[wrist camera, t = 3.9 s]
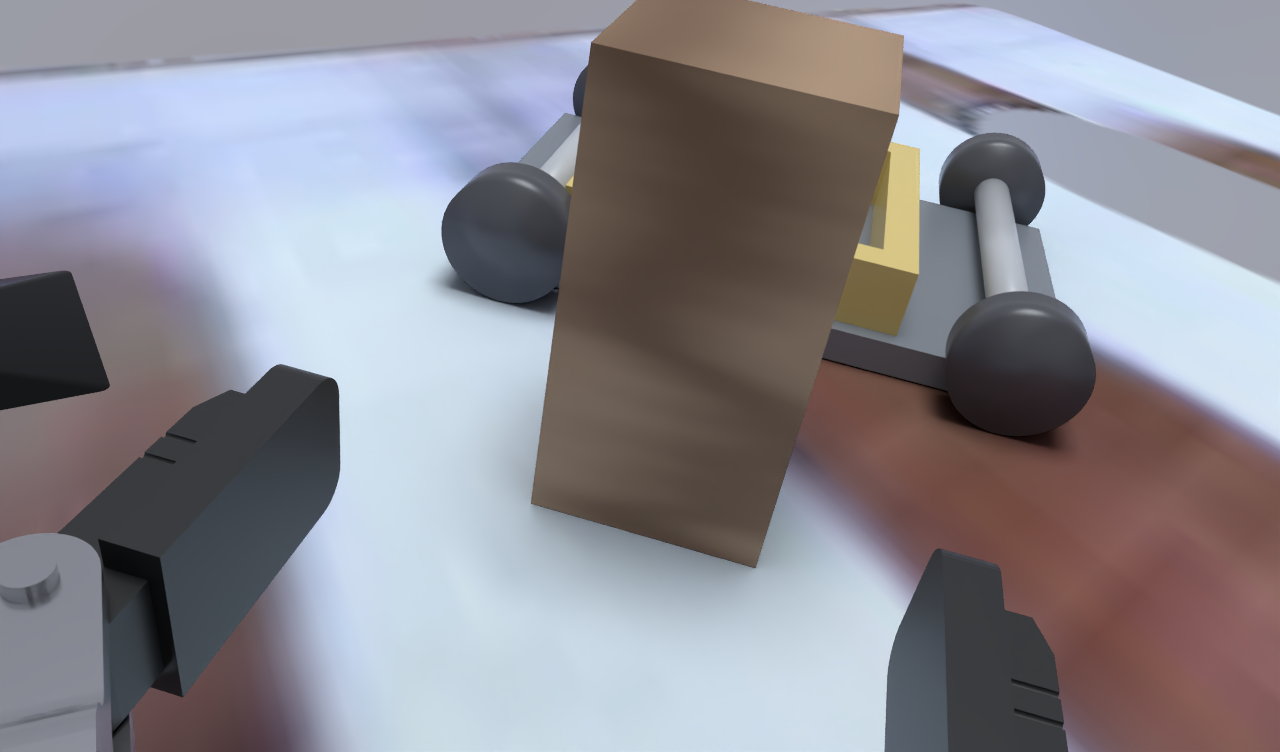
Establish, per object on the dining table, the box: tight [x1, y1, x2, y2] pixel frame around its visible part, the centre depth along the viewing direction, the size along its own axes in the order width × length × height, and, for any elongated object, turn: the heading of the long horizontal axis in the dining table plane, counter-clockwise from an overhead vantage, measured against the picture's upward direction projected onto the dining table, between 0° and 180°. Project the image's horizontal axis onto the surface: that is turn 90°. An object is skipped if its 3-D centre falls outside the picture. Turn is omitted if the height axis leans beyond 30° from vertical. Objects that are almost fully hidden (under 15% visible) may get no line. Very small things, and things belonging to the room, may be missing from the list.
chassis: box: [442, 66, 1096, 436], centre depth 32 cm, size 18×14×4 cm
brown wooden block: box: [531, 0, 904, 568], centre depth 21 cm, size 5×5×10 cm
